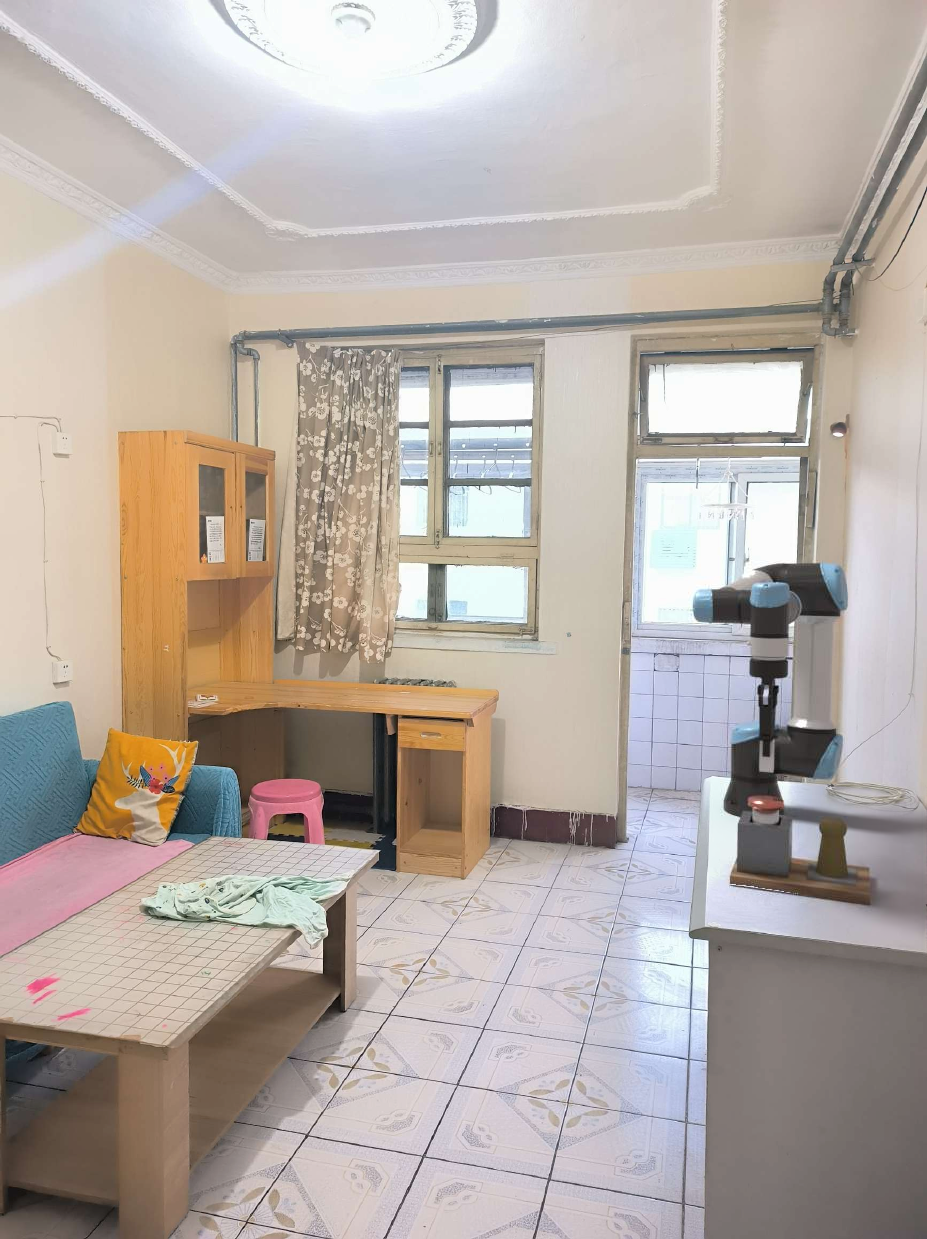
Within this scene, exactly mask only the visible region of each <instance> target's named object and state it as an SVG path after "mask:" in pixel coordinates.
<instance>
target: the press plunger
mask: <svg viewBox="0 0 927 1239" xmlns="http://www.w3.org/2000/svg"><path fill="white" fill-rule="evenodd" d="M782 799H783V798H782ZM782 799H780V798H777V797H772V796H763V795H758V796H751V797H749V798H748V805H749V806H750V807H752V808H753V815H752V823H760V824H769V825H778V826H779V810H781V809H783V808H784V809H785V801H784V800H782Z"/></svg>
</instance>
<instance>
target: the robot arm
mask: <svg viewBox="0 0 927 1239" xmlns="http://www.w3.org/2000/svg"><path fill="white" fill-rule="evenodd" d="M847 585H848V584H847V579H846V574H845V571H844V568H842V566H841V565H839V564H836V563H826V562H814V563H812V562H809V563H805V562H803V563H802V562H801V563H797V562H796V563H794V562H793V563H787V562H786V563H784V562H783V563H781V562H780V563H777V562H776V563H774V564H773V563H772V564H768V565H764V566H760V567H757V568H754V569H751V570H749V571H746V572H745V573H743V574H742V575H741V576H740V577H739V578H738V580H736V581H733V582H732V583H729V584H726V585H725V586H723V587H719V588H717V589H716V588H713V589H711V588H703V589H698V590H697V591H695V593H694V596H693V599H692V612H693V613H692V614H693V617H694V619H695V620H696V622H699V623H706V624H707V623H708V624H735V625H736V624H739V625H749V626H750V632H749V634H750V635H749V636H750V637H749V639H750V640H747V642H746V645H747V646H750V647H749V655H750V656H751V657H750V659H749V661H748V662H749V670H748V671H749V676H751V677H752V678H759V679H761V682H760V684H758V685H757V688H756V690H757V693H756V694H757V695H758V699H757V700H758V702H757V703H758V704H757V705H758V709H759V710H758V711H759V712H758V713H759V715H758V718H759V719H758V720H757V721H747V722H743V723H739V724H737V725H735V726H734V727H733V728H732V731H731V741H730V744H731V747H730V748H731V749H730V750H731V751H730V781H729V784H728V787H727V789H726V792H725V794H724V798H723V807H722V808H723V810H724V811H726V812H727V813H729V814H732V815H735V816H737V817H741V815H742V813H743V811H751V812H753V808H752V807H750V806H749V805H748V798H749V797H751V796H758V795H763V796H772V797H777V798H780V799H782V800H783V797H782V796H783V795H782V792H781V790H780V787H779V784H778V782H779V781H778V780H779V779H778V778H779V776H781V775H782V776H791V777H797V778H798V777H799V778H806V779H807V778H809V779H812V780H813V781H814V780H824V781H825V780H827V781H829V780H832V779H833V778H834V777H835V776H836V774H837V772H838V769H839V765H840V762H841V758H842V754H843V753H842V752H843V747H844V746H843V745H844V743H843V742H844V737H843V735H842V734H840V733H837V725H836V724H835V723H834V722H833V721H832V719H831V707H832V706H831V705H832V701H831V700H832V679H833V678H832V677H833V672H832V671H833V651H834V650H833V646H834V643H833V642H834V626H835V625H834V624H836V622H837V621H839V619H840V618H841V612H845V611H846V610H847V609H848V606H849V602H848V601H849V593H848V586H847ZM794 622H796V640H795V671H794V675H795V676H794V698H793V699H794V700H793V701H794V702H793V703H794V704H793V717H792V718H791V719H790V720H789V721H787V723H786V729H785V728H780V725H779V723H778V722H777V721H776V711H777V710H776V709H777V705H778V694H779V691H780V686H779V685H776V679H778V680H779V679H785V678H787V677H788V676H789V675H788V674H789V660H788V659H787V657H789V649H790V637H789V630H790V628H789V625H791V624H792V623H794ZM783 801H784V800H783ZM779 815H785V807H784V808H783V809H781V810H779Z"/></svg>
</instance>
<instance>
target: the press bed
mask: <svg viewBox="0 0 927 1239" xmlns="http://www.w3.org/2000/svg"><path fill="white" fill-rule="evenodd" d="M817 861H818V860H814V859H806V858H799V857H798V858H796V857H792V863H791V868H790V873H789V878H782V877H775V876H768V875H760V874H753V873H745V872H738V871H737V857H736V859H735V860H734V864H733V866H732V869H731V872H730V875H729V885H730V884H736V885H746V886H754V887H758V888H765V889H772V890H779V891H784V892H790V893H796V894H797V893H798V894H801V895H800V896H803V895H806V896H805V897H810V896H812V897H811V898H817V897H818V898H819V899H825V900H834V901H839V902H846V903H847V902H848V903H854V904H860V905H868V906H871V895H872V894H871V876H870V874H871V873H870V867H868V866H861V865H853V864H847V869H848V876H846V877H843V878H832V877H826V876H823V875H820V874H818V873H817V872H816V867H817ZM796 894H795V895H796Z"/></svg>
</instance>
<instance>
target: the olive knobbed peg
mask: <svg viewBox="0 0 927 1239" xmlns="http://www.w3.org/2000/svg"><path fill="white" fill-rule="evenodd" d="M818 830H819V832H820V834H821V837H820V845H819V850H818V856H817V860H816V861H817V867H816V872H817V873H818V874H820V875H823V876H826V877H832V878H843V877H846V876H848V869H847V865H848V862H847V854H846V853H847V852H846V846H845V845H846V844H845V836H846V835H847V831H848V828H847V824H846V822H845V821H844V820H842V819H839V818H835V817H825V818H823V819H821V820H820V821H819V824H818Z"/></svg>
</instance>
